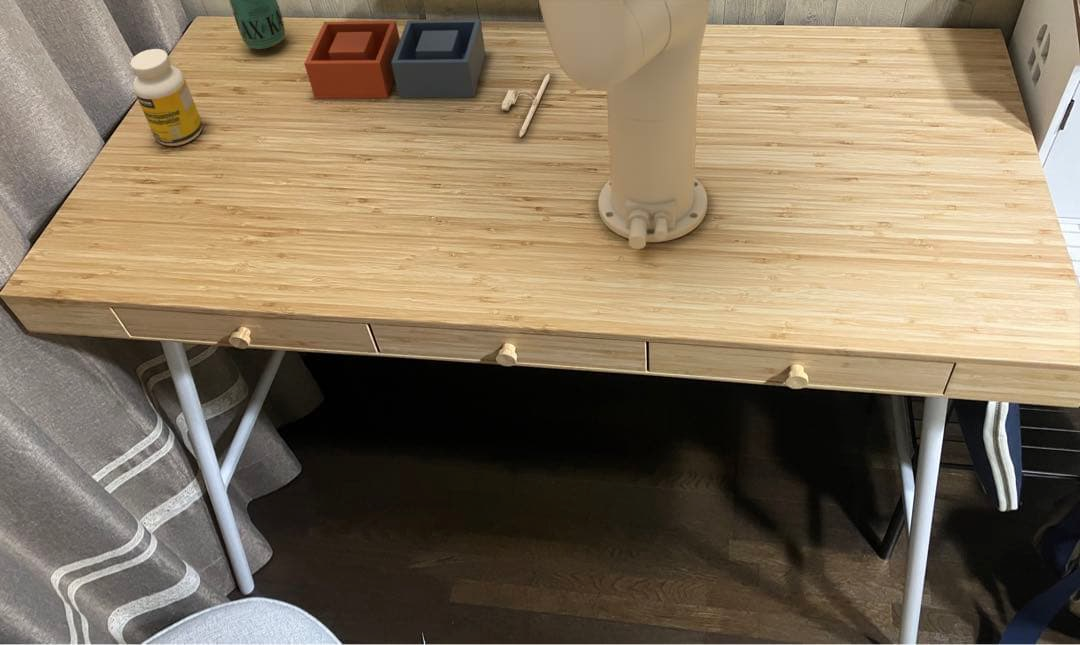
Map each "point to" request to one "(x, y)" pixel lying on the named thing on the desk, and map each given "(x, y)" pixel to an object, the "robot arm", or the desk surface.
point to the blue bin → (439, 62)
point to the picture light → (512, 99)
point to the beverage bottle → (259, 22)
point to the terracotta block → (353, 46)
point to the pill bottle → (165, 98)
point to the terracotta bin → (353, 62)
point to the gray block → (439, 45)
